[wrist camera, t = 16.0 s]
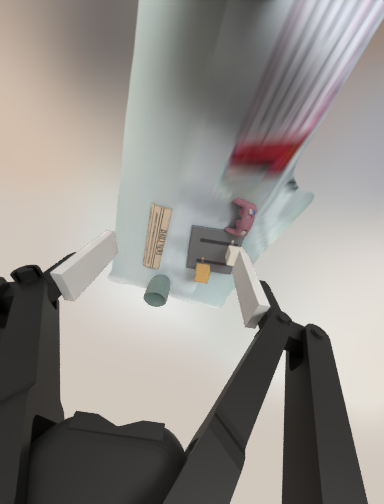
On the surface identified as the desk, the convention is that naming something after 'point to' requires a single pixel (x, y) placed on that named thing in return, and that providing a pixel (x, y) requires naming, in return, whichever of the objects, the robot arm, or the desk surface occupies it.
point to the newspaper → (156, 235)
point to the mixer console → (211, 248)
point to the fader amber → (202, 272)
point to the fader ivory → (232, 254)
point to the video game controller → (243, 218)
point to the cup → (157, 291)
